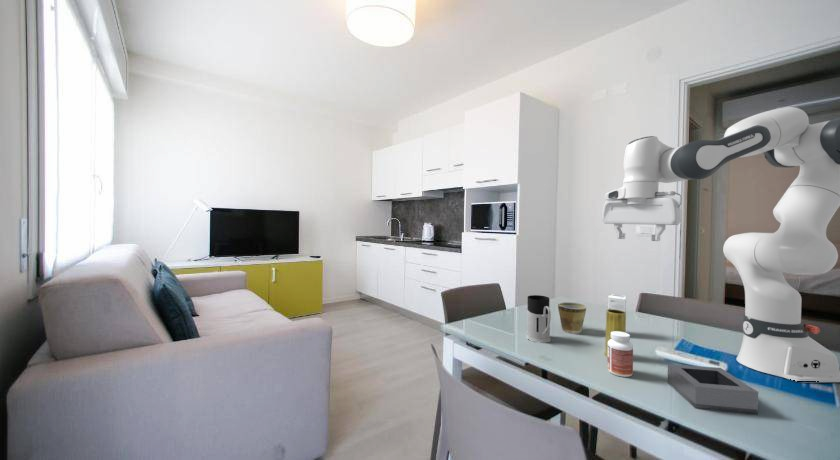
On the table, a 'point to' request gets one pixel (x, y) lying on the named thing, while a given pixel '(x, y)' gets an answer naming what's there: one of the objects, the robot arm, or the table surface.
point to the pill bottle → (620, 354)
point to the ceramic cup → (572, 316)
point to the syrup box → (617, 302)
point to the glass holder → (538, 319)
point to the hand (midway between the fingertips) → (637, 239)
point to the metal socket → (712, 389)
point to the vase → (614, 324)
